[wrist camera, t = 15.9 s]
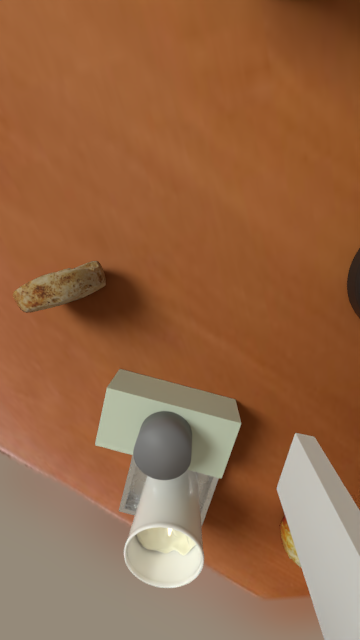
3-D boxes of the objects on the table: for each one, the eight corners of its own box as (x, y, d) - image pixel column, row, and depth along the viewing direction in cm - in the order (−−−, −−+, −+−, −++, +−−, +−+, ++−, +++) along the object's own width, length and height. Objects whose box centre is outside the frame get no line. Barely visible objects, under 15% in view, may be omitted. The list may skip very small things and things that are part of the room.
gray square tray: (222, 453, 44) (223, 465, 42) (199, 518, 48) (199, 532, 45) (139, 431, 44) (136, 441, 42) (122, 498, 48) (118, 511, 45)
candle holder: (208, 500, 46) (211, 585, 34) (150, 507, 47) (134, 591, 35) (196, 449, 44) (194, 521, 32) (136, 458, 45) (114, 530, 33)
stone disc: (53, 308, 40) (7, 326, 31) (42, 284, 40) (-9, 294, 30) (118, 284, 39) (92, 294, 29) (108, 258, 38) (77, 260, 29)
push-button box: (235, 399, 42) (246, 443, 32) (217, 451, 44) (223, 506, 35) (119, 368, 42) (95, 403, 32) (108, 421, 44) (82, 469, 35)
